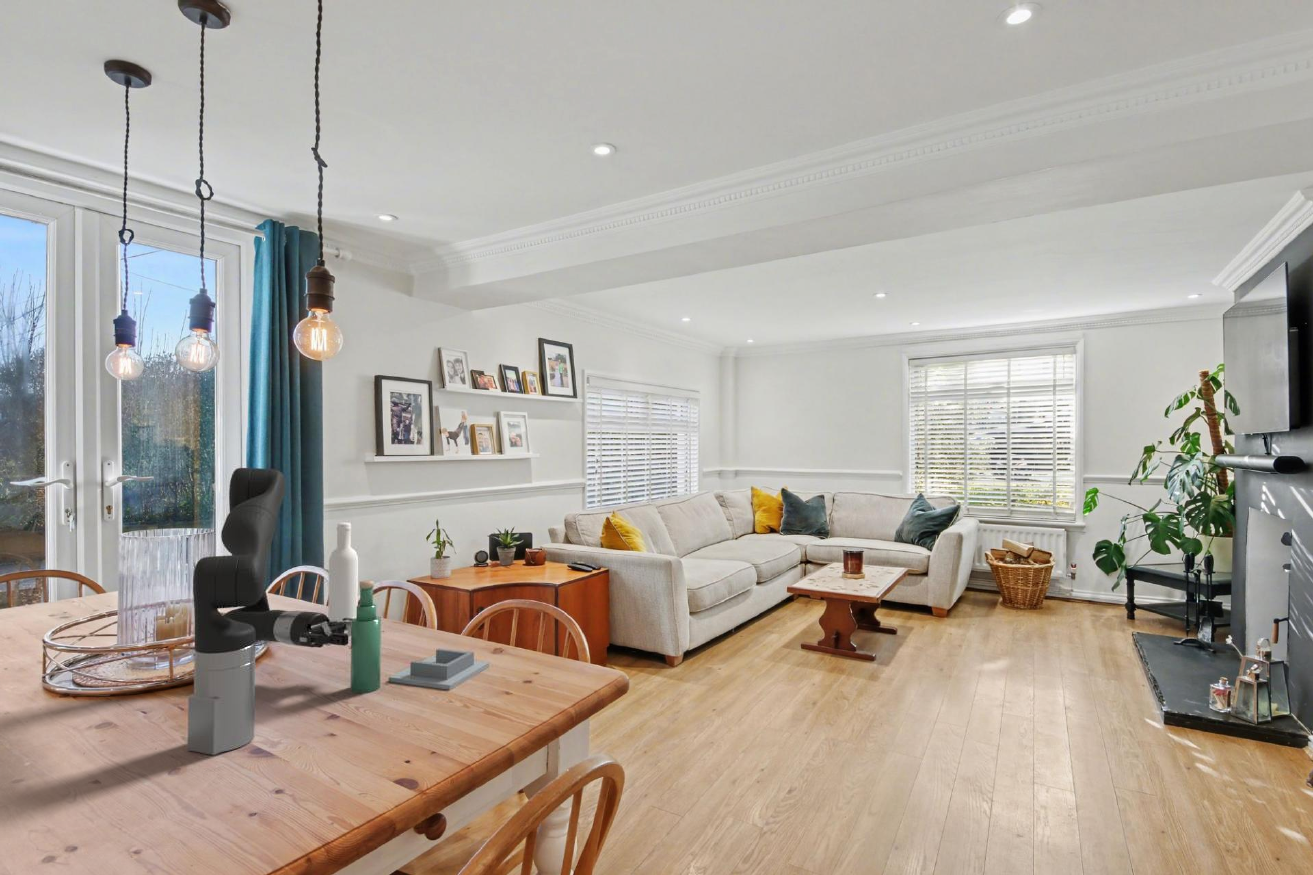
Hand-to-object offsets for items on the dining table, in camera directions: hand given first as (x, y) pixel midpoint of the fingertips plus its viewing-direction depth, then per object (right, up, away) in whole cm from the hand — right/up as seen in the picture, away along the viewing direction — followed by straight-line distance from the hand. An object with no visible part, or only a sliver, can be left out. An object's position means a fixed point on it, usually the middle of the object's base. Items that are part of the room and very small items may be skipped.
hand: (361, 634), depth 150 cm
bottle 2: (+1, -11, 0) cm, 12 cm away
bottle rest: (+14, -12, +9) cm, 21 cm away
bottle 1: (-26, -12, +48) cm, 56 cm away
